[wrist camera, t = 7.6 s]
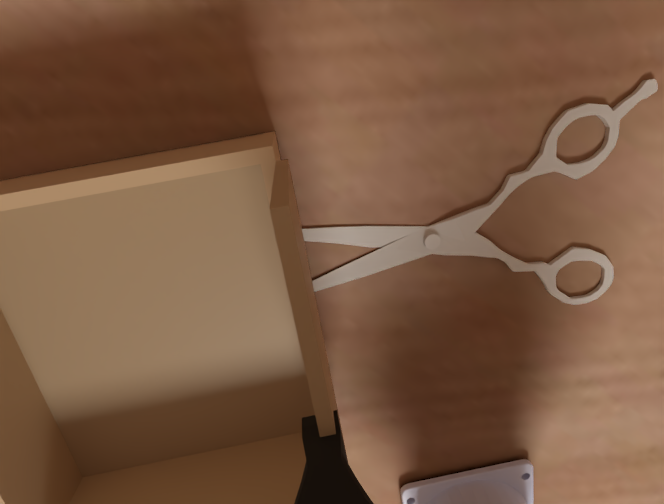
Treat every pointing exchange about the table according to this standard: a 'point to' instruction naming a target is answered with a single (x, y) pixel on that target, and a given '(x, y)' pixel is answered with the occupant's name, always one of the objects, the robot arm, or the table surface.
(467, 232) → the scissors
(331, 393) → the flap
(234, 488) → the carton
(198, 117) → the table surface
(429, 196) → the table surface
